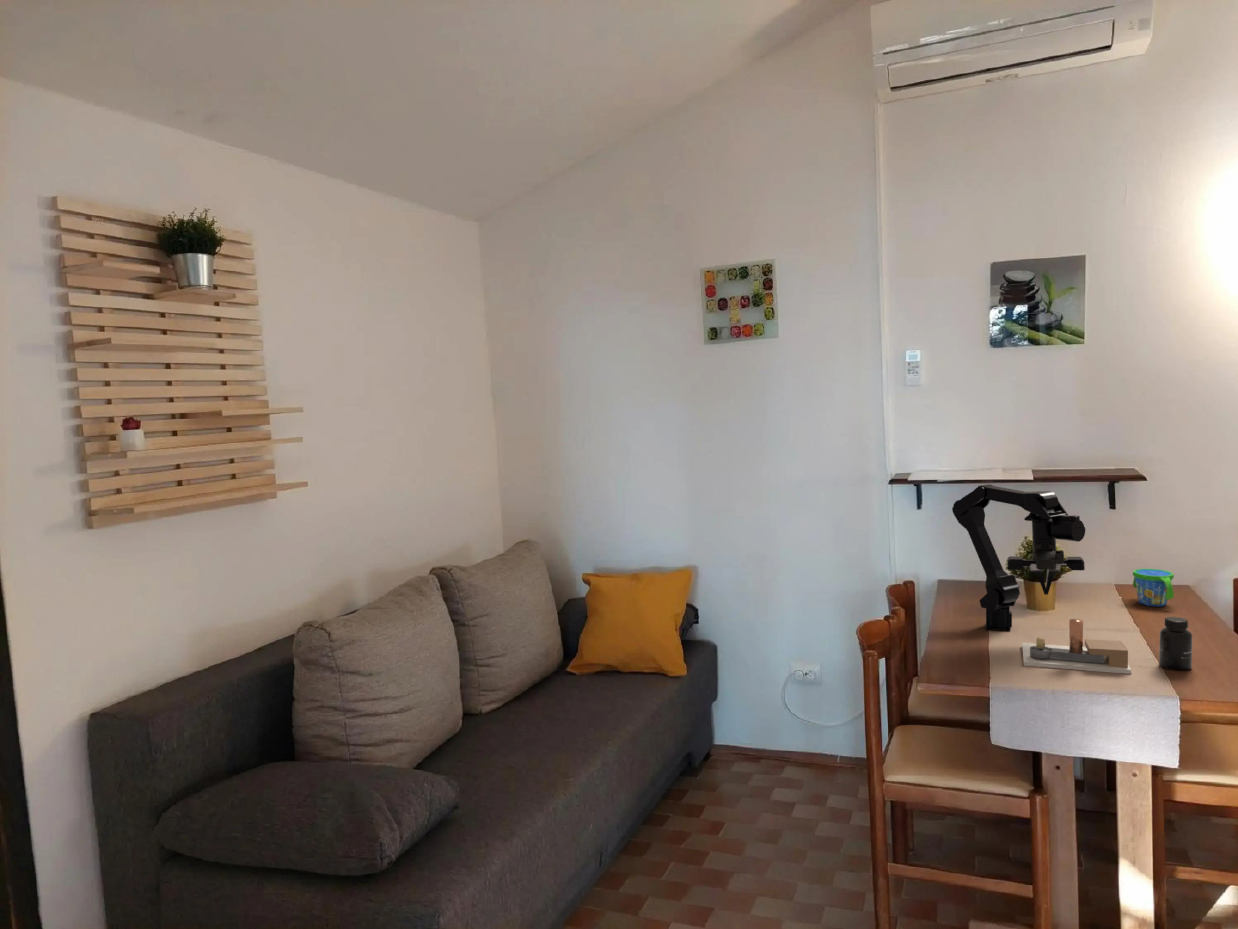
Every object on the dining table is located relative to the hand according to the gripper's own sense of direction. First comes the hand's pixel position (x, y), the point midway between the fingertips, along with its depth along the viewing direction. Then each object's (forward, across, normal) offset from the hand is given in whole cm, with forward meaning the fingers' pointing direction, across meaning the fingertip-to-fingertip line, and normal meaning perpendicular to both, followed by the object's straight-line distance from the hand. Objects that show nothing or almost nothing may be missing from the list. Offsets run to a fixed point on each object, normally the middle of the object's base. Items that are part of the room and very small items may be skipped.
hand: (1046, 594), depth 239 cm
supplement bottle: (+14, +27, -15) cm, 34 cm away
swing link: (+12, +3, -20) cm, 23 cm away
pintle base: (+13, +5, -16) cm, 21 cm away
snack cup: (+13, +32, +48) cm, 59 cm away
